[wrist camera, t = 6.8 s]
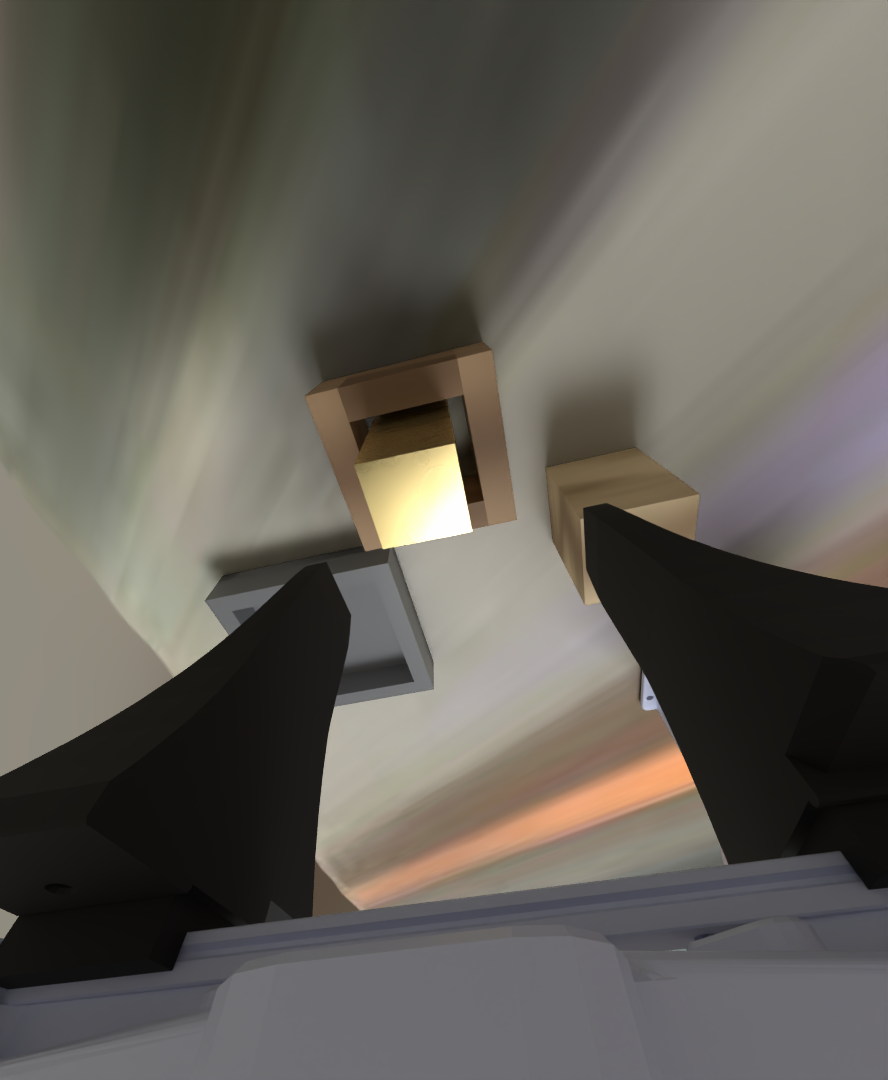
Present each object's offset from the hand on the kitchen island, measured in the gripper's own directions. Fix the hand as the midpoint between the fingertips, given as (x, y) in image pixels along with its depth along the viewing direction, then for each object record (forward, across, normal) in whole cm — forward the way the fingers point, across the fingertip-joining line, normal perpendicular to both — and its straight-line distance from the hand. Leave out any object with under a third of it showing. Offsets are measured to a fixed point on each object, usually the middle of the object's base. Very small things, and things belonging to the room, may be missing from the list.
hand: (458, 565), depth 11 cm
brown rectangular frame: (+10, +1, -1) cm, 10 cm away
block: (+10, -7, +4) cm, 13 cm away
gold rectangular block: (+10, +1, -1) cm, 10 cm away
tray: (+10, +9, +9) cm, 16 cm away
